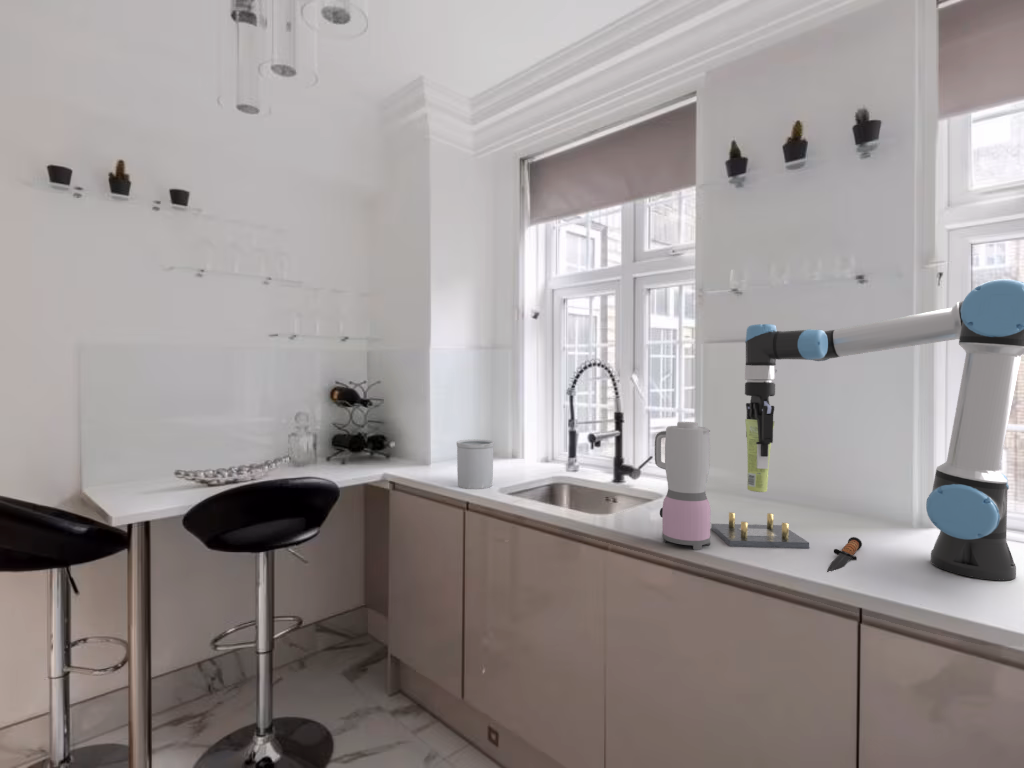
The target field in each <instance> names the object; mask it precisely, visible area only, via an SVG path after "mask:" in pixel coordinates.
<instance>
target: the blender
mask: <svg viewBox="0 0 1024 768" xmlns="http://www.w3.org/2000/svg"><path fill="white" fill-rule="evenodd" d="M710 432H711V430H710V429H709V428H708V427H706V426H705V427H704V426H699V425H698V422H695V421H677V422H676V425H669V426H667V427H666V429H665V431H660V432H658V433H657V434H655V435H656V436H655V438H654V463H655V465H656V466H657V467H658V468H660V469H663V470H665V475H666V476H665V477H666V482H667V492H666V496H665V497H664V499H663V502H662V507H661V508H660V510H659V516H660V518H662V521H661V522H662V530H661V531H662V533H661V536H662V543H666V542H670V543H673V544H678V545H684V546H692V550H694V551H700V550H702V547H703V545H707V546H711V515H712V514H711V504H710V501H709V499H708V496H707V492H706V489H707V484H708V477H709V472H710V465H711V464H710V461H711V459H710V458H711V442H710V440H711V439H710V438H711V437H710ZM664 438H665V442H664V461H662V439H664Z"/></svg>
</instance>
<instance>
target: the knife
mask: <svg viewBox="0 0 1024 768" xmlns="http://www.w3.org/2000/svg"><path fill="white" fill-rule="evenodd" d="M862 546H863V542H862V540H861V539H860V538H858V537H855V536H851V537H850V538H848V540H847V543H846V544H845V545H844V546H843V548H842V549H841V550H840V549H837V548H834V549H833V553H834V555H836V557H835V558H834V559H833V560H832V562H831V563H830V564H829V566H828V568H827V570H826V571H827V572H826V573H830V572H829V571H831V572H833V571H834V570H835V571H836V570H839V569H842V568H845V566H846V565H847V564H848V563H849V561H851V560H852V561H857V560H858V557H857V556H855V555H854V554H855V553H856V552H857V551H858V550H860V549H861V548H862ZM835 571H834V572H835Z"/></svg>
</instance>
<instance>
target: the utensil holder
mask: <svg viewBox="0 0 1024 768" xmlns="http://www.w3.org/2000/svg"><path fill="white" fill-rule="evenodd" d="M494 447H495V441H493V440H488V439H473V438H472V439H461V440H458V441H456V449H457V451H456V453H457V454H456V456H457V457H456V458H457V460H456V461H457V465H456V467H457V486H458V487H460V488H462V489H466V490H467V489H468V490H482V489H488V488H491V487H492V486H493V479H494V477H493V476H494V475H493V474H494Z"/></svg>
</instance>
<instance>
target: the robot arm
mask: <svg viewBox="0 0 1024 768" xmlns="http://www.w3.org/2000/svg"><path fill="white" fill-rule="evenodd" d="M954 340H958V345H959V346H960V348H962V349H963V350H964V352H965V359H964V364H963V369H962V373H961V374H962V375H961V380H960V387H959V390H958V396H957V402H956V408H955V413H954V417H953V418H954V419H953V425H952V430H951V435H950V439H949V440H950V442H949V447H948V452H947V459H946V461H945V462H944V463H942V464H940V465H938V466H936V470H935V475H934V480H933V485H932V490H931V492H930V493H929V494H928V497H927V499H926V503H925V504H926V505H925V506H926V513H927V516H928V518H929V520H930V521H931V523H932V524H933V525H934V526H935V527H936V528H937V530H939V534H938V536H937V538H936V540H935V543H934V545H933V549H932V550H931V551H930V563H931V564H932V565H933V566H935V567H937V568H939V569H940V570H943V571H944V570H945V571H947V572H950V573H953V574H957V575H961V576H964V577H969V578H976V579H981V580H987V581H988V580H989V581H990V580H991V581H1010V580H1014V579H1016V577H1017V566H1016V563H1015V562H1014V558H1013V554H1012V553H1011V550H1010V547H1009V545H1008V542H1007V523H1008V522H1007V520H1008V490H1009V489H1010V485H1009V484H1008V483H1009V482H1008V477H1007V476H1006V475H1005V474H1003V473H1001V471H1000V469H1001V468H1000V467H1001V461H1002V456H1003V451H1004V447H1005V440H1006V436H1007V431H1008V426H1009V419H1010V416H1011V410H1012V405H1013V404H1012V403H1013V401H1014V393H1015V388H1016V384H1017V378H1018V373H1019V368H1020V363H1021V358H1022V356H1024V282H1023V281H1019V280H1016V279H1008V278H1005V279H1004V278H1003V279H1001V278H1000V279H994V280H990V281H986V282H984V283H981V284H979V285H977V286H976V287H975V288H973V289H972V290H971V291H970V292H968V294H967V295H966V296H965V298H964V299H963V300H961V301H957V302H956V303H955V304H954V306H953V307H949V308H943V309H938V310H933V311H927V312H922V313H916V314H910V315H906V316H900V317H896V318H895V317H894V318H889V319H885V320H880V321H874V322H869V323H863V324H859V325H858V324H857V325H853V326H847V327H842V328H836V329H831V330H825V331H824V330H822V329H811V328H810V329H803V330H802V329H801V330H800V329H799V330H787V331H785V330H784V331H781V330H777V326H776V324H773V323H764V324H763V323H762V324H751V325H748V326H747V328H746V334H745V341H744V343H745V365H744V381H746V382H745V383H744V395H745V396H749V397H750V402H746V403H745V408H746V419H752V420H757V425H758V438H759V442H756V444H757V468H759V469H768V451H769V444H770V443H771V444H773V442H774V428H773V421H774V411H775V405H771V404H770V397H774V396H776V383H775V382H773V381H775V380H776V373H777V372H778V370H777V369H776V365H777V363H776V362H777V361H776V360H805V361H806V360H807V361H815V362H823V361H827V360H828V361H829V360H830V359H835V358H840V357H849V356H857V355H861V354H868V353H875V352H880V351H887V350H895V349H901V348H908V347H913V346H914V347H915V346H921V345H927V344H933V343H941V342H946V341H954ZM745 438H747V432H746V431H745Z"/></svg>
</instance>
